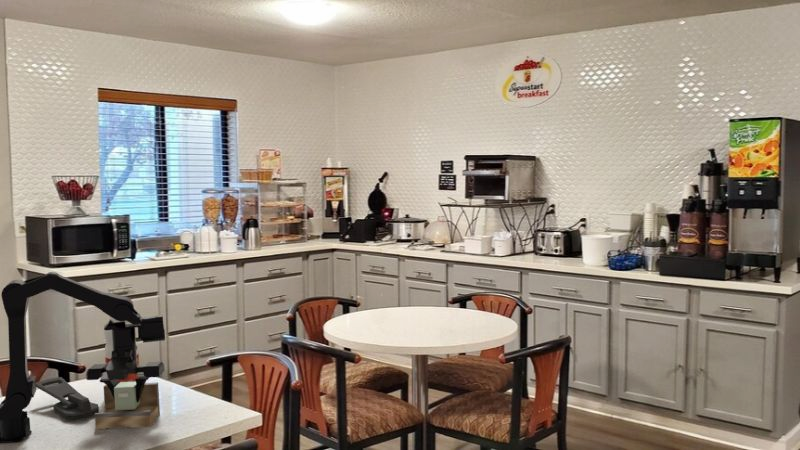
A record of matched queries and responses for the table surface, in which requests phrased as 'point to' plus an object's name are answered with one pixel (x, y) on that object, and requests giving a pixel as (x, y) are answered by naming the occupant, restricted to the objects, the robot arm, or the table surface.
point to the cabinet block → (125, 396)
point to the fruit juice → (110, 348)
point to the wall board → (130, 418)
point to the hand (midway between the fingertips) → (127, 402)
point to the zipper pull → (74, 406)
